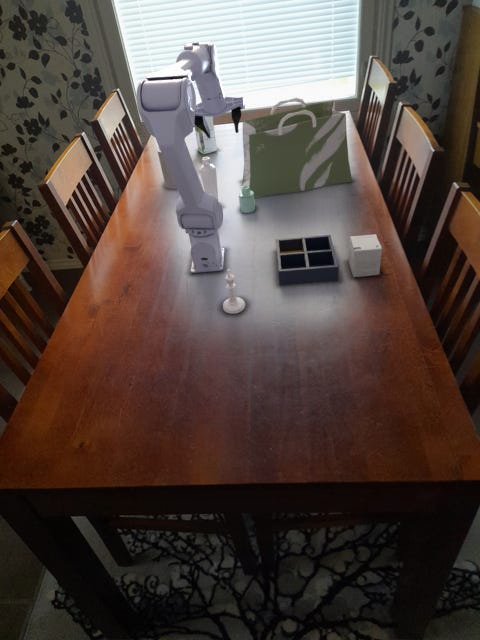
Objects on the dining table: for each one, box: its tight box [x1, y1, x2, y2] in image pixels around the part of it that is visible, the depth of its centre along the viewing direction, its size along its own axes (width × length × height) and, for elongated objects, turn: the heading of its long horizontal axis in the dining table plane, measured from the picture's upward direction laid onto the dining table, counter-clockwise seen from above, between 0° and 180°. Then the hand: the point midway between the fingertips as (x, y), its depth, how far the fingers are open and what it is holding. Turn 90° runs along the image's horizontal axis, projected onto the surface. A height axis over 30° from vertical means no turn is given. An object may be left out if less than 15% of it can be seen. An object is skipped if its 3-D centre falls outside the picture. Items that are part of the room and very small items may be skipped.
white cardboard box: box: [348, 233, 383, 278], centre depth 103 cm, size 6×6×7 cm
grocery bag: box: [242, 97, 353, 198], centre depth 134 cm, size 32×14×23 cm, turn 98°
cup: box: [156, 146, 178, 190], centre depth 146 cm, size 9×9×12 cm
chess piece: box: [222, 268, 246, 315], centre depth 97 cm, size 5×5×10 cm
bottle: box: [238, 184, 256, 214], centre depth 129 cm, size 4×4×7 cm
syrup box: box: [193, 116, 218, 155], centre depth 163 cm, size 6×6×14 cm
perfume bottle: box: [199, 156, 219, 202], centre depth 130 cm, size 5×4×15 cm
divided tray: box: [275, 234, 339, 286], centre depth 107 cm, size 13×13×4 cm
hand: (223, 132), depth 122 cm, fingers open, 7 cm apart
